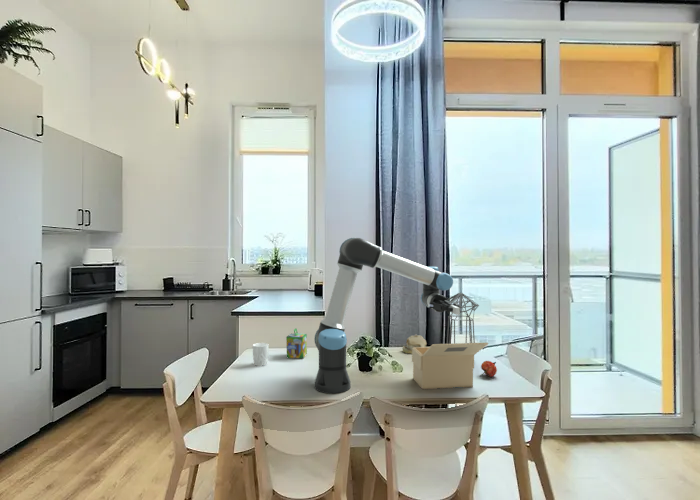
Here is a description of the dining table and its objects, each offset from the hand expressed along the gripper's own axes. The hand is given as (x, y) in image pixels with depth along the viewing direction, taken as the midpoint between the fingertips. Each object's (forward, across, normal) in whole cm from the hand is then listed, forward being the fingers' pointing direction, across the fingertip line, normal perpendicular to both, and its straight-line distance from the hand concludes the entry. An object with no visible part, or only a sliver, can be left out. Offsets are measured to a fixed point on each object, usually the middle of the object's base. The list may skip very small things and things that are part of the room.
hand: (457, 311), depth 163 cm
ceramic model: (-69, -3, -35) cm, 77 cm away
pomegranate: (-23, -24, -34) cm, 48 cm away
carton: (-17, 0, -34) cm, 38 cm away
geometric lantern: (-51, -22, -34) cm, 65 cm away
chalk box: (-67, +63, -34) cm, 98 cm away
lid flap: (-3, 0, -16) cm, 16 cm away
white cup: (-54, +81, -34) cm, 103 cm away
